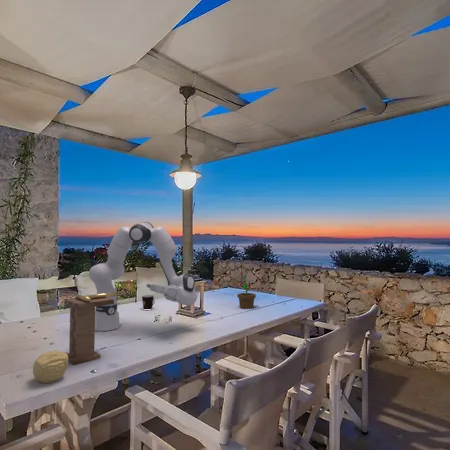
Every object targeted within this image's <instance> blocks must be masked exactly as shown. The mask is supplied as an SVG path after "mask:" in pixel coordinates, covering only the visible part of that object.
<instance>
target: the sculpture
mask: <svg viewBox="0 0 450 450" xmlns="http://www.w3.org/2000/svg"><path fill="white" fill-rule="evenodd" d="M67 354H68V353H67V352H63V351H59V350H58V349H56V350H53V351H52V350H51V351H47V352H44V353H42V354H41V355H39V356H38V357H37V358H36V360H35V362H34V363H33V366H32V374H33V377H34V379H35V380H36V381H37V382H39V383H42V384H50V383H54V382H56V381H58V380H60V379H62V377H63V376H64V375H65V373H66V371H67V369H68V368H69V367H68V366H69V362H68V355H67Z"/></svg>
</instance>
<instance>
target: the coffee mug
mask: <svg viewBox="0 0 450 450" xmlns="http://www.w3.org/2000/svg"><path fill="white" fill-rule="evenodd" d="M154 297H155V296H154V295H152V294H144V295H141V301H142V308H144V309H151V308H152V309H153V305H154V304H155V301H156V300H155V299H154Z"/></svg>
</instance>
